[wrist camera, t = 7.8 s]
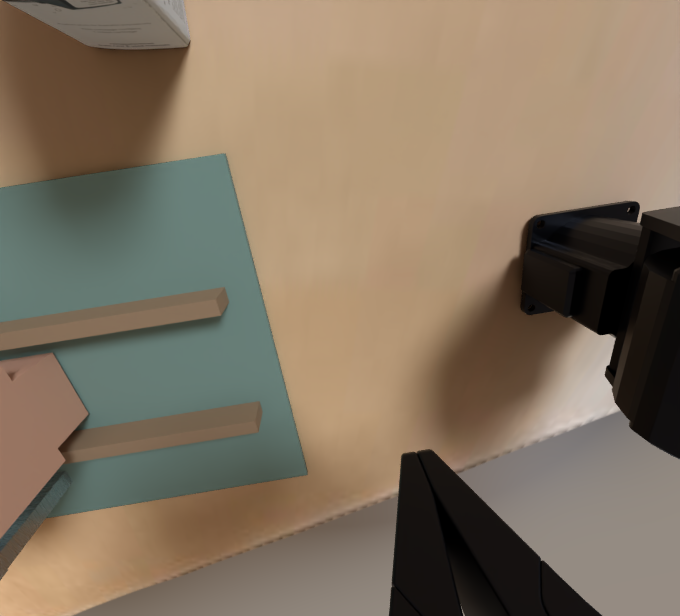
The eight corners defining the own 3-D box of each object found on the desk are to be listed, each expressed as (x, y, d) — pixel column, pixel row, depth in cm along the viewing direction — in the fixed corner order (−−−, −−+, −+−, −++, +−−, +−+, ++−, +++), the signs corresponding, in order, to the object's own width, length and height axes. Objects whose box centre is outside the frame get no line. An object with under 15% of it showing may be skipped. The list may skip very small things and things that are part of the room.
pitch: (225, 153, 17) (213, 152, 15) (307, 471, 27) (307, 497, 25) (-314, 236, 17) (-402, 246, 15) (-33, 528, 27) (-62, 559, 25)
